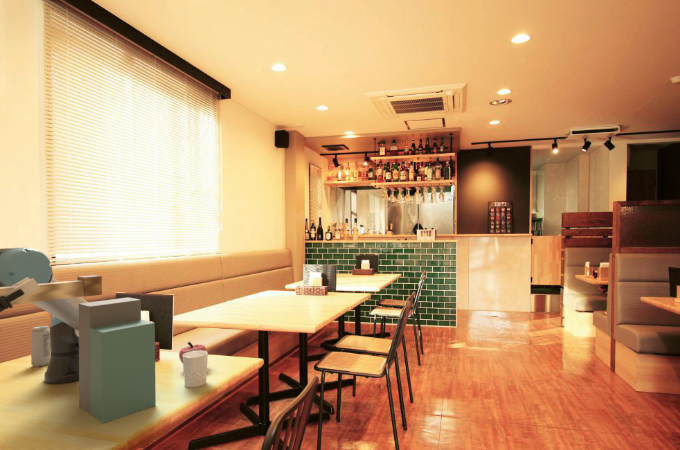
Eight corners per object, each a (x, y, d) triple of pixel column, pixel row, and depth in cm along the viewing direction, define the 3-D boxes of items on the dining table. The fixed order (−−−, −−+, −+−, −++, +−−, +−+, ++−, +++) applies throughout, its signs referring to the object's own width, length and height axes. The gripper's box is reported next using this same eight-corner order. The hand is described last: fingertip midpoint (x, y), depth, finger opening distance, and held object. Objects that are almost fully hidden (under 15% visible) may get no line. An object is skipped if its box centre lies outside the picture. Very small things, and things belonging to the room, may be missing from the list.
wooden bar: (-10, 307, 90) (-10, 285, 90) (-15, 305, 94) (-16, 284, 94) (101, 294, 108) (101, 276, 108) (93, 293, 112) (93, 275, 112)
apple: (177, 374, 143) (177, 346, 144) (181, 366, 152) (180, 340, 152) (205, 371, 146) (205, 343, 146) (207, 364, 154) (207, 338, 154)
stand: (103, 423, 106) (102, 309, 107) (79, 406, 118) (78, 303, 118) (155, 405, 117) (154, 302, 118) (129, 391, 128) (128, 297, 129)
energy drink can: (37, 363, 160) (37, 325, 161) (53, 362, 161) (53, 325, 161) (27, 368, 154) (27, 329, 155) (44, 367, 155) (44, 328, 155)
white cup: (200, 389, 129) (199, 357, 129) (178, 387, 130) (177, 356, 131) (212, 380, 136) (212, 350, 137) (191, 379, 138) (191, 350, 138)
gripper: (-77, 355, 90) (33, 291, 106) (-69, 370, 79) (53, 297, 95) (-102, 329, 87) (15, 268, 103) (-97, 341, 76) (33, 270, 92)
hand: (33, 282), depth 99 cm, fingers closed on wooden bar, 4 cm apart
